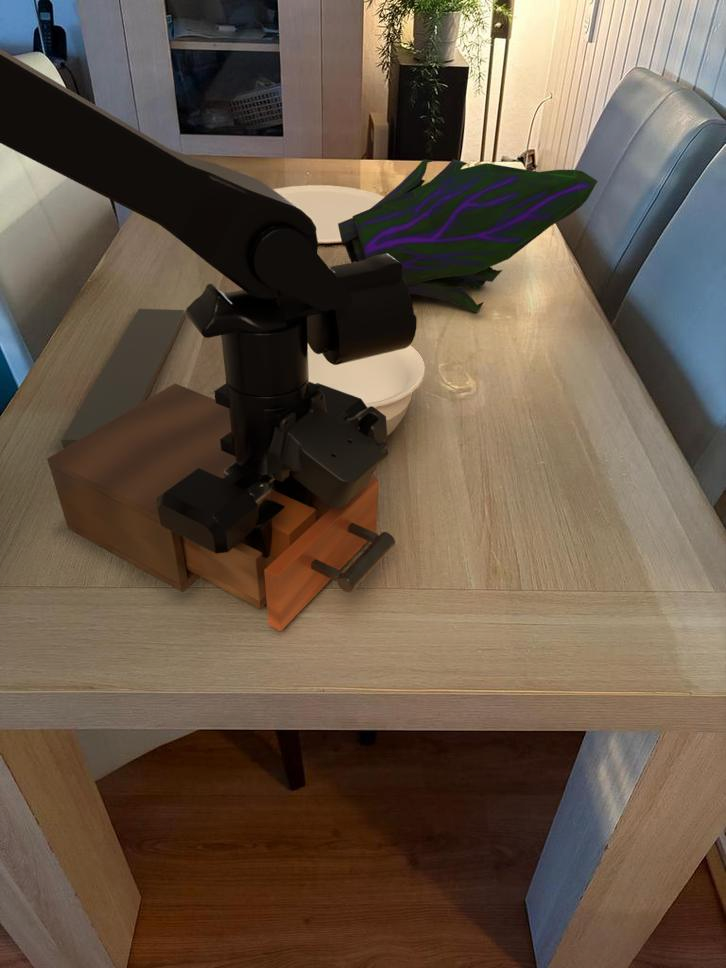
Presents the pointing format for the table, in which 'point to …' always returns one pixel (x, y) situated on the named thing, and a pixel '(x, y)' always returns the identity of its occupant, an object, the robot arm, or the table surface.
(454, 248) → the decorative plant
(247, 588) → the drawer
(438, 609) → the table surface
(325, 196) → the plate
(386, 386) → the bowl
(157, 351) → the board
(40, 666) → the table surface
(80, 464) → the cabinet
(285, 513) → the orange cube block
